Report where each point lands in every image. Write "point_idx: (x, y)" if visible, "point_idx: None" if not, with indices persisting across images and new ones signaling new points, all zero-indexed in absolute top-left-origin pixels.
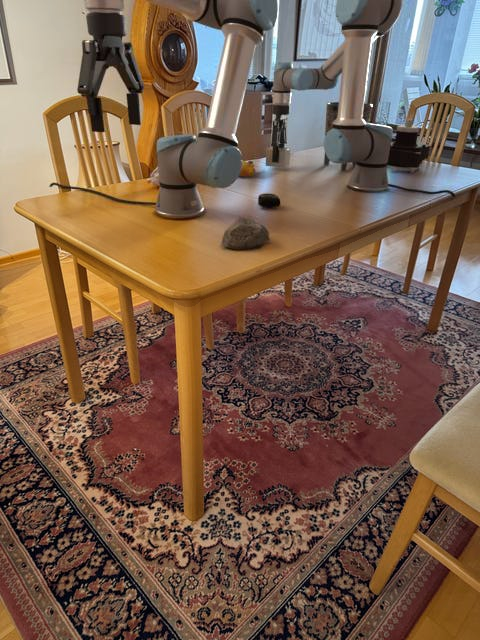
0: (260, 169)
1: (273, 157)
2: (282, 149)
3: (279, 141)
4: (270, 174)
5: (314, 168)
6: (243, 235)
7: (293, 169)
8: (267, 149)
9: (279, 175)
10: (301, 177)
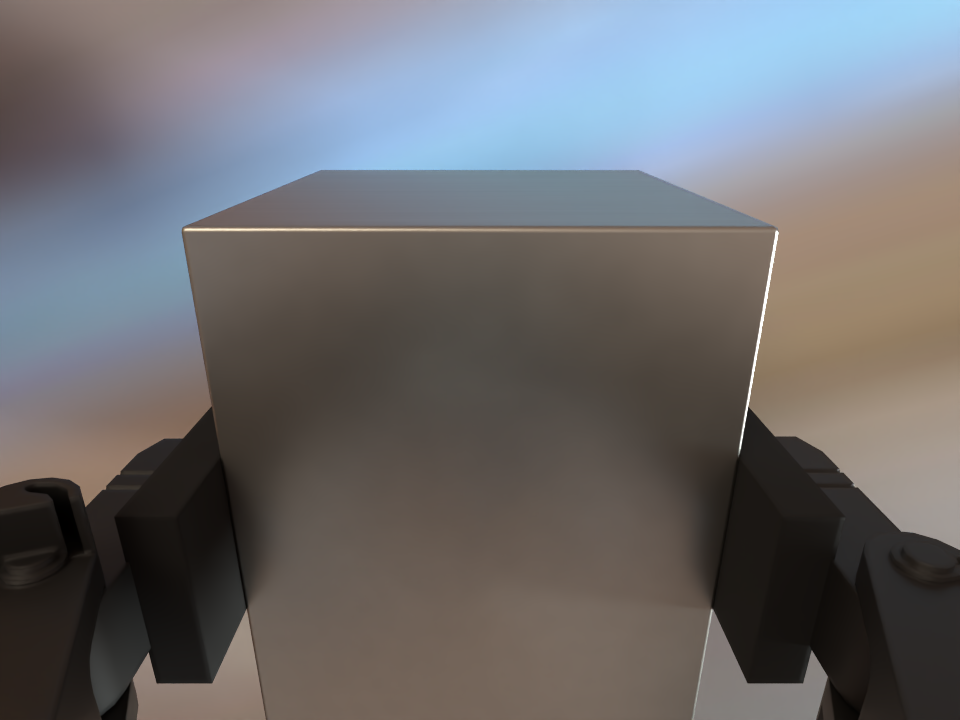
0: (318, 66)
1: None
2: (381, 654)
3: (870, 584)
4: (79, 351)
5: (747, 714)
6: None
7: None
8: (190, 273)
9: (110, 476)
10: (188, 703)
